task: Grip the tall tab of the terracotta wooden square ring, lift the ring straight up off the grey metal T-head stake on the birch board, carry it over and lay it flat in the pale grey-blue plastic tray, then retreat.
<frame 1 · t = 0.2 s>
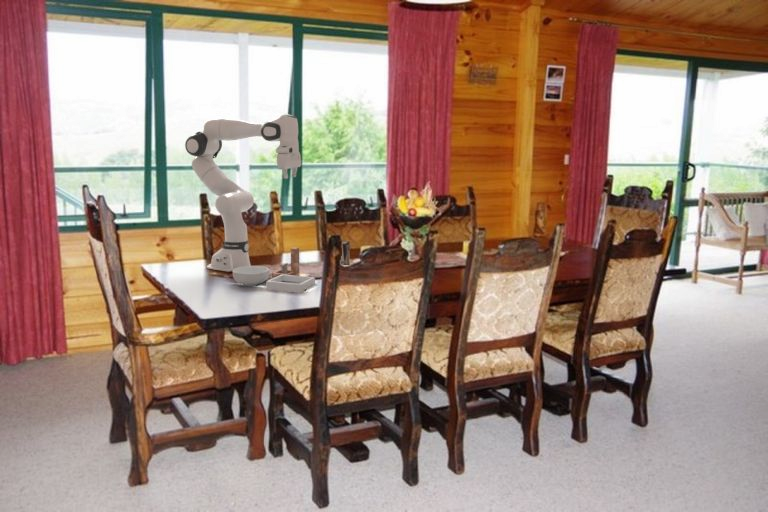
hand: (289, 177, 338), 47 cm above the table, fingers open, 8 cm apart
grey tray: (291, 287, 318), on the table
tabbed ring: (284, 275, 337), point 1 cm above the table, touching stake board
stake board: (290, 277, 337), on the table
coffee box: (341, 274, 345), on the table
cereal bowl: (251, 284, 324), on the table
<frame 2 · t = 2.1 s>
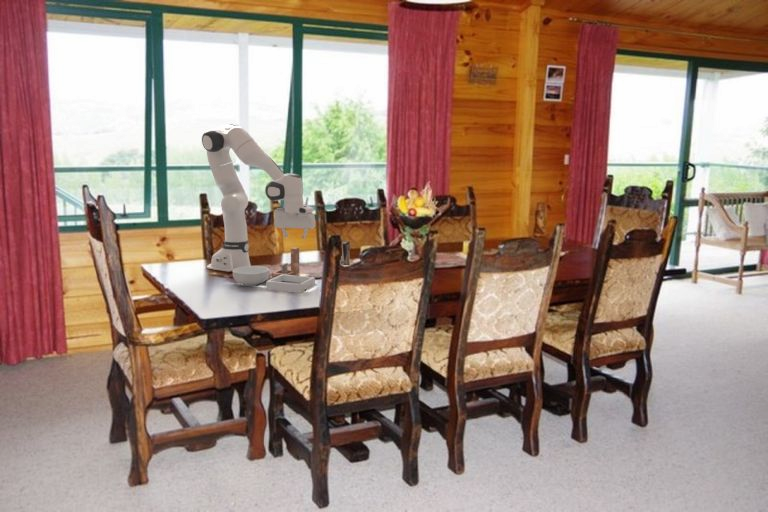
hand: (295, 237, 331), 20 cm above the table, fingers open, 8 cm apart
nothing on the table moved.
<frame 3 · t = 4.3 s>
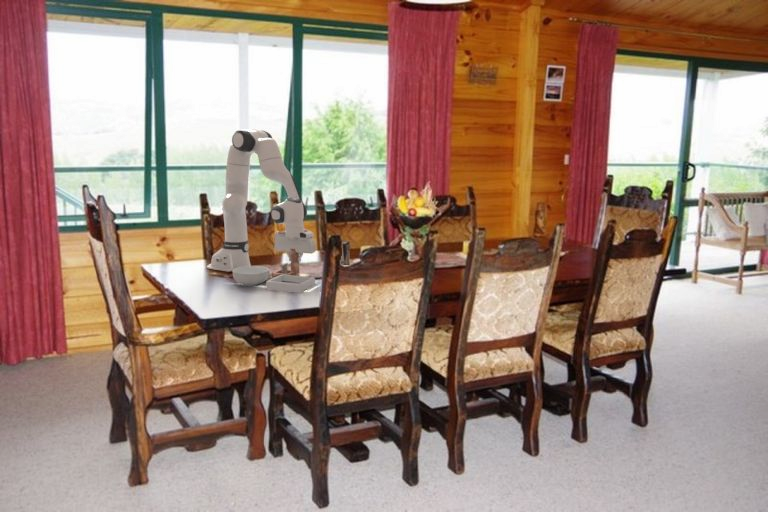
hand: (295, 261, 333), 9 cm above the table, fingers closed on tabbed ring, 2 cm apart
tabbed ring: (284, 275, 337), point 1 cm above the table, touching gripper, stake board
everything else where it was.
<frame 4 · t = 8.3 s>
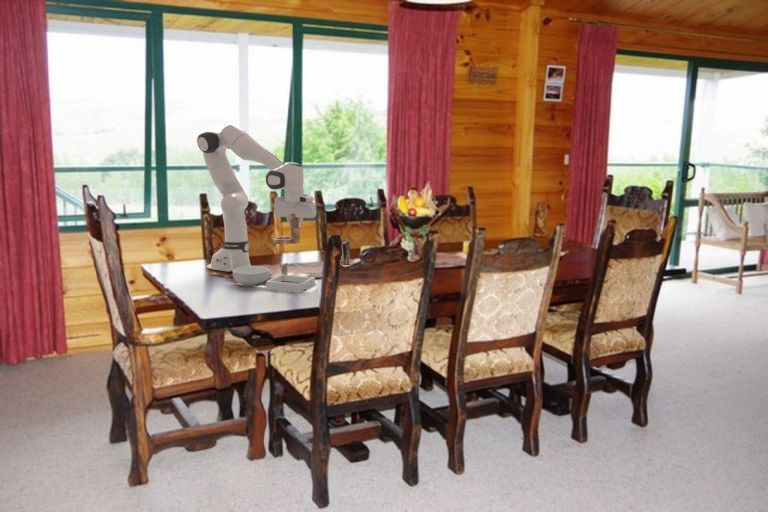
hand: (295, 226, 328), 25 cm above the table, fingers closed on tabbed ring, 2 cm apart
tabbed ring: (284, 242, 331), point 18 cm above the table, touching gripper
everything else where it was.
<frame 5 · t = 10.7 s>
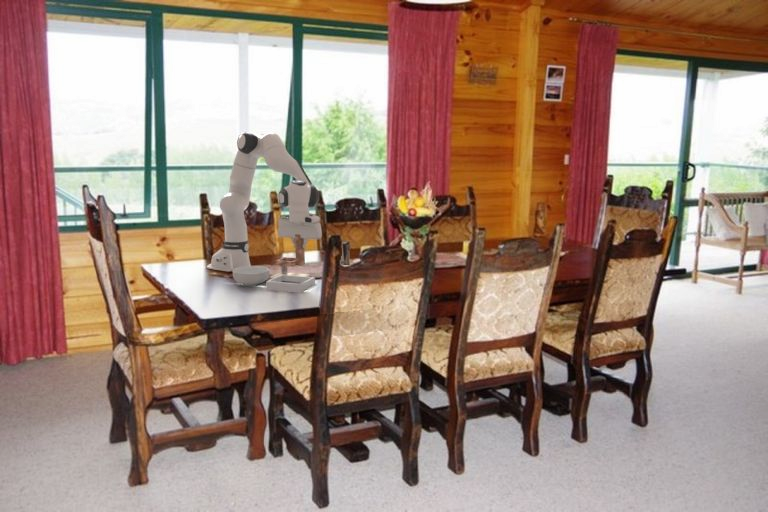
hand: (299, 248, 313), 19 cm above the table, fingers closed on tabbed ring, 2 cm apart
tabbed ring: (288, 263, 317), point 11 cm above the table, touching gripper
everything else where it was.
when the fingers open (10 cm above the table, at t = 12.7 s): tabbed ring drops 2 cm, resting on grey tray.
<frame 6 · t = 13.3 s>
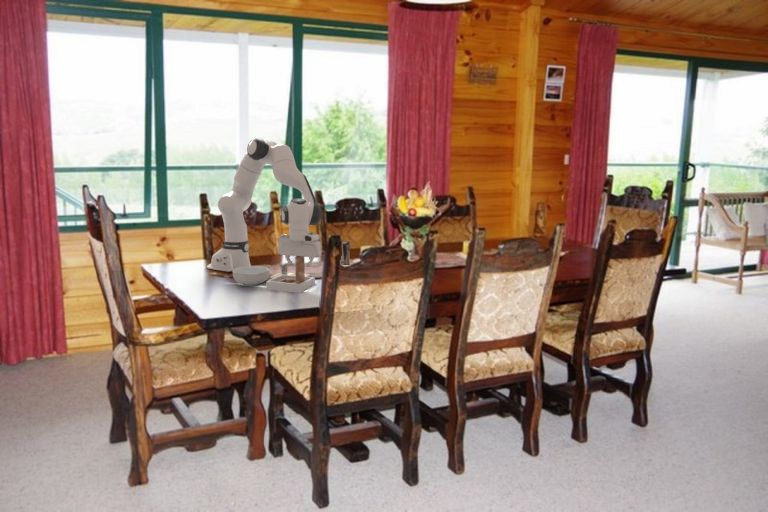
hand: (299, 265, 315), 10 cm above the table, fingers open, 8 cm apart
tabbed ring: (288, 285, 319), point 1 cm above the table, touching grey tray
everything else where it was.
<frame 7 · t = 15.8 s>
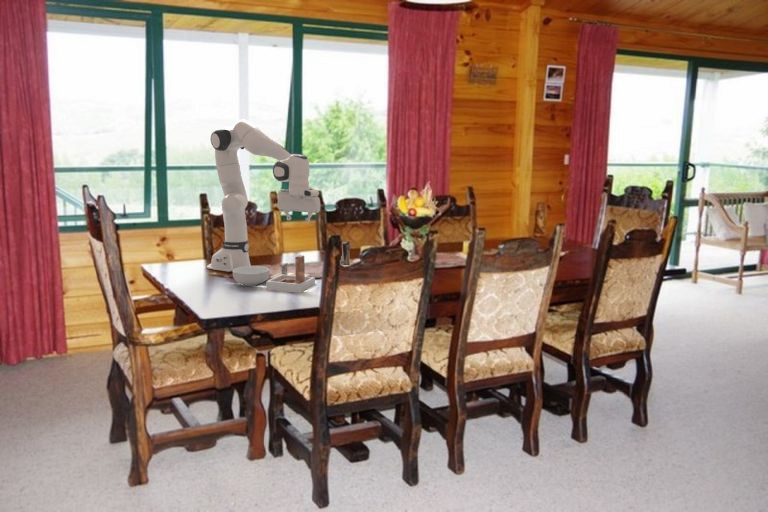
hand: (298, 221, 318), 30 cm above the table, fingers open, 8 cm apart
nothing on the table moved.
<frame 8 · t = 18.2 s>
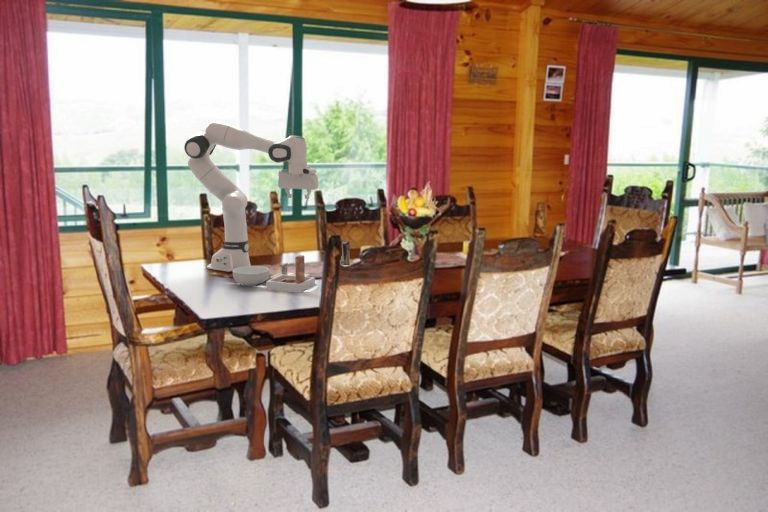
hand: (298, 198, 341), 37 cm above the table, fingers open, 8 cm apart
nothing on the table moved.
at the end: tabbed ring 0.6 cm off-centre on the grey tray, point 0.8 cm above the grey tray's base; tabbed ring tilted 0°; the gripper is holding nothing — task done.
